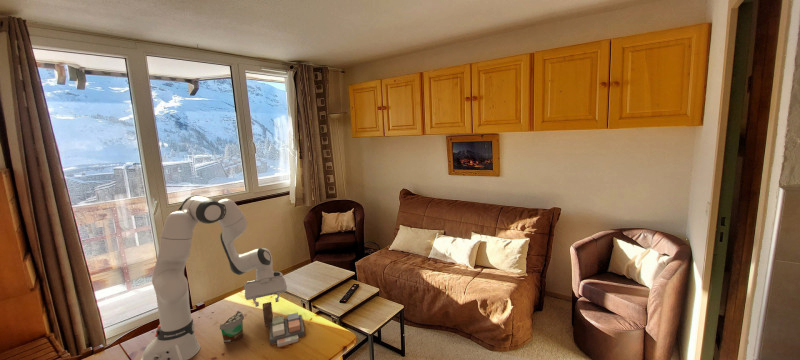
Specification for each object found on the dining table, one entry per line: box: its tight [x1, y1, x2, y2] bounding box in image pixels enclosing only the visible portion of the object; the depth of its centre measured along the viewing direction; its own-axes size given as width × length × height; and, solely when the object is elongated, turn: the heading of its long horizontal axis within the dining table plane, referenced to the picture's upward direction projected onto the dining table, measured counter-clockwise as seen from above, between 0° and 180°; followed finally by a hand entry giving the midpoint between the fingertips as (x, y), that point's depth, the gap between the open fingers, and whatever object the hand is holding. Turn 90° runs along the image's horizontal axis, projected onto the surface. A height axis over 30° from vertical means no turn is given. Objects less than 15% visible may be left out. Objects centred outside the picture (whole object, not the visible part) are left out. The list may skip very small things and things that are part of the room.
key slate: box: [287, 312, 300, 322], centre depth 160 cm, size 5×5×2 cm
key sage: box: [272, 315, 285, 326], centre depth 157 cm, size 5×5×2 cm
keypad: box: [269, 314, 306, 348], centre depth 154 cm, size 15×18×2 cm
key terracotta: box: [288, 320, 301, 333], centre depth 153 cm, size 5×5×2 cm
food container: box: [219, 310, 245, 344], centre depth 152 cm, size 12×6×10 cm, turn 168°
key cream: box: [273, 323, 285, 337], centre depth 151 cm, size 5×5×2 cm
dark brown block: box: [262, 301, 274, 327], centre depth 163 cm, size 4×4×10 cm
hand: (267, 303), depth 165 cm, fingers open, 8 cm apart
